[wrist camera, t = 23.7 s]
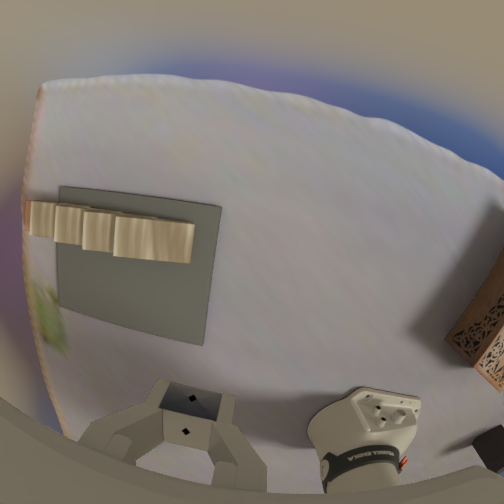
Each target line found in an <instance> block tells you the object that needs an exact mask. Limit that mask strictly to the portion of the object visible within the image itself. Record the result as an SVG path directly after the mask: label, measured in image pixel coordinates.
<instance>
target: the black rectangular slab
mask: <svg viewBox="0 0 504 504" xmlns="http://www.w3.org/2000/svg"><path fill="white" fill-rule="evenodd" d="M472 446H473V447H474V449H475V450H476V452H477V453H478V455H479V456H480V458H481V459H482V461H483V462H484V464H485V466H486V467H487V469H489V470H491V471H492V472H494V473H496V474H500V473H501V472H503V471H504V427H503V426H502V425H499V426H497V427H495V428H494V429H492V430H490V431H488V432H486V433H484V434H483V435H481V436H479V437H477V438H476V439H475V440H474V442H473V444H472Z"/></svg>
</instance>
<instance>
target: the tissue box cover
mask: <svg viewBox="0 0 504 504" xmlns="http://www.w3.org/2000/svg"><path fill="white" fill-rule="evenodd" d="M445 340H446V341H447V342H448V343H449V344H450V345H451V346H452V347H453V348H454V349H455V350H456V351H457V352H458V353H459V354H460V355H462V356H463V357H464V358H465V359H466V360H467V361H468V362H469V363H470V364H471V365H472V366H473V367H474V368H475V369H476V370H477V371H478V372H479V373H480V374H481V375H482V376H483V377H484V378H485V379H486V380H487V381H488V382H489V383H490V384H491V385H492V386H493V387H494V388H495V389H496V390H497V391H498V392H499V393H500V392H501V391H502V389H503V388H504V248H503V250H502V252H501V254H500V256H499V257H498V259H497V261H496V263H495V265H494V266H493V268H492V270H491V272H490V273H489V275H488V277H487V278H486V280H485V282H484V283H483V285H482V286H481V288H480V290H479V291H478V293H477V294H476V296H475V297H474V299H473V300H472V302H471V303H470V305H469V306H468V308H467V309H466V310H465V312H464V313H463V315H462V316H461V317H460V319H459V320H458V322H457V323H456V324H455V326H454V327H453V328H452V330H451V331H450V332H449V334H448V335H447V336H446V337H445Z"/></svg>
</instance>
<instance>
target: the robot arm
mask: <svg viewBox="0 0 504 504" xmlns="http://www.w3.org/2000/svg"><path fill="white" fill-rule="evenodd" d="M366 395H367V396H366ZM235 402H236V395H231V394H225V393H223V394H222V393H217V392H212V391H207V390H202V389H197V388H193V387H189V386H185V385H181V384H178V383H174V382H169V381H166V380H162V379H158V380H157V381H156V382H155V384H154V386H153V388H152V390H151V391H150V393H149V395H148V397H147V399H146V401H145V402H144V404H143V403H138V404H136V405H134V406H131V407H129V408H126V409H124V410H122V411H119V412H117V413H114V414H112V415H109V416H106V417H104V418H101V419H99V420H96V421H93V422H91V423H90V425H89V426H88V428H87V429H86V431H85V432H84V433H83V435H82V436H81V438H80V439H79V441H78V442H75V441H73V440H71V439H69V438H67V437H65V436H63V435H62V434H60V433H57V432H56V431H54V430H52V429H50V428H48V427H47V426H45V425H43V424H41V423H40V422H38V421H36V420H35V419H33V418H31V417H30V416H28V415H26V414H25V413H23V412H22V411H20V410H19V409H17V408H16V407H14V406H13V405H11V404H10V403H8V402H7V401H6V400H4V399H3V398H1V397H0V504H504V478H503V477H501V476H500V475H498V474H496V473H494V472H492V471H491V470H489V469H487V468H485V467H482V466H479V465H475V466H471V467H467V468H465V469H462V470H459V471H456V472H452V473H449V474H446V475H442V476H439V477H435V478H431V479H427V480H423V481H419V482H415V483H410V484H405V485H402V482H401V480H400V477H399V473H400V472H401V471H402V468H403V466H404V465H405V464H406V463H407V461H408V459H407V460H406V457H407V456H405V457H404V458H403V459H402V461H401V462H400V463H399V457H400V456H401V455H402V454H403V453H404V451H405V450H406V449H407V448H408V446H409V445H410V443H411V442H412V440H413V439H414V437H415V434H416V432H417V418H418V415H419V413H420V410H421V400H420V398H418V397H413V396H407V395H401V394H396V393H391V392H385V391H380V390H375V389H371V388H366V387H362V388H359V389H357V390H356V391H354V392H353V393H352V394H351V395H349V396H348V397H347V398H345V399H342V400H340V401H337V402H335V403H333V404H331V405H329V406H327V407H325V408H324V409H322V410H321V411H320V412H318V413H317V414H316V415H315V416H314V417H313V419H312V420H311V422H310V424H309V426H308V430H307V433H308V437H309V439H310V441H311V442H312V444H313V445H314V447H315V450H316V452H317V455H318V457H319V460H320V476H321V480H322V485H323V490H324V493H325V494H284V493H267V466H266V465H265V463H264V462H263V461H262V459H261V458H260V457H259V456H258V454H257V453H256V452H255V450H254V449H253V448H252V446H251V445H250V444H249V442H248V441H247V440H246V438H245V437H244V435H243V434H242V433H241V431H240V430H239V429H238V427H237V426H236V425H233V424H232V422H233V415H234V408H235ZM163 441H166V442H170V443H174V444H178V445H183V446H187V447H191V448H195V449H199V450H204V451H208V454H209V456H210V458H211V460H212V462H213V464H214V466H215V469H214V473H213V478H212V483H211V485H206V484H201V483H196V482H192V481H187V480H183V479H179V478H175V477H171V476H167V475H163V474H160V473H156V472H153V471H150V470H146V469H143V468H140V467H137V466H136V461H135V460H137V459H138V458H140V457H141V456H143V455H144V454H146V453H148V452H149V451H151V450H152V449H154V448H155V447H157V446H158V445H159V444H161V443H162V442H163ZM405 460H406V461H405Z"/></svg>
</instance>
